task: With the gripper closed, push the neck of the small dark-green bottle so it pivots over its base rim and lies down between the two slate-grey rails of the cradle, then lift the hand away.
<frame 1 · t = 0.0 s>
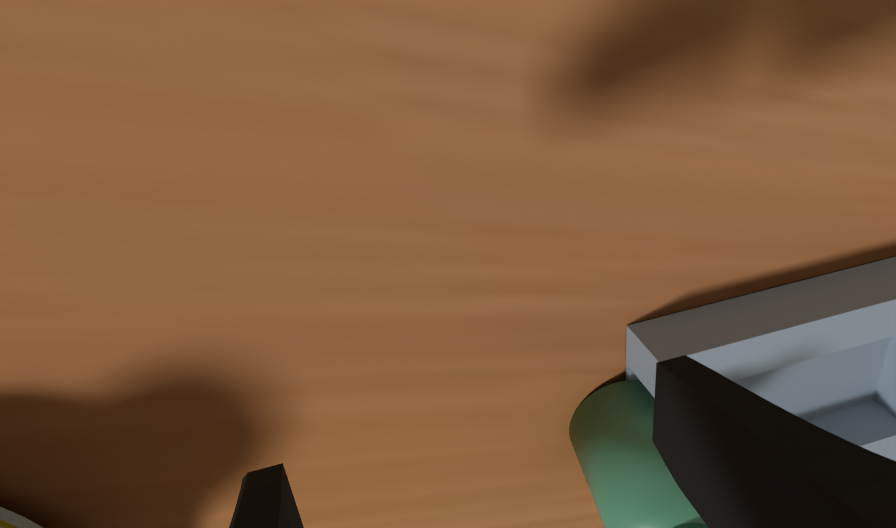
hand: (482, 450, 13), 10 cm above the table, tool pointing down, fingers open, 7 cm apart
cradle: (757, 380, 29), on the table
bottle: (622, 423, 28), on the table, tilted 8°, touching cradle
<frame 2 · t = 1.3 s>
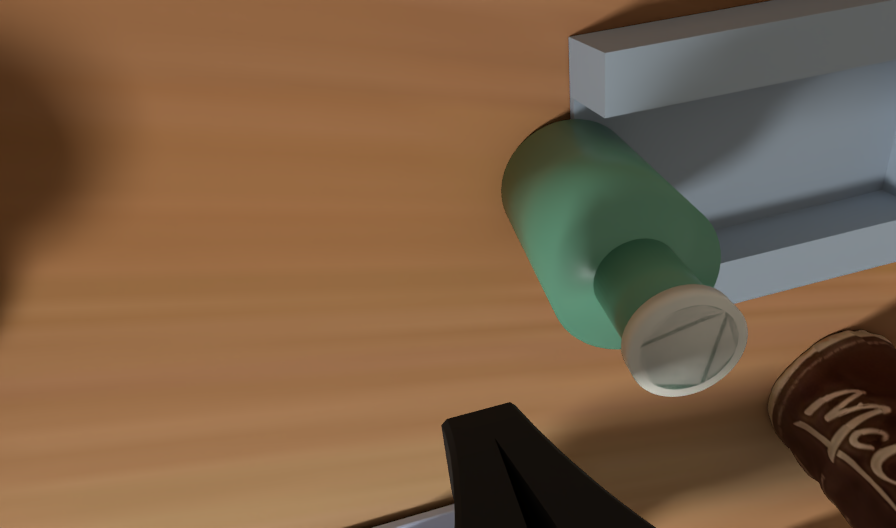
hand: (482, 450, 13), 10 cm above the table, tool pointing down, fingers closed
cradle: (739, 146, 24), on the table
bottle: (567, 184, 22), on the table, tilted 7°, touching cradle
coffee cup: (827, 384, 31), on the table
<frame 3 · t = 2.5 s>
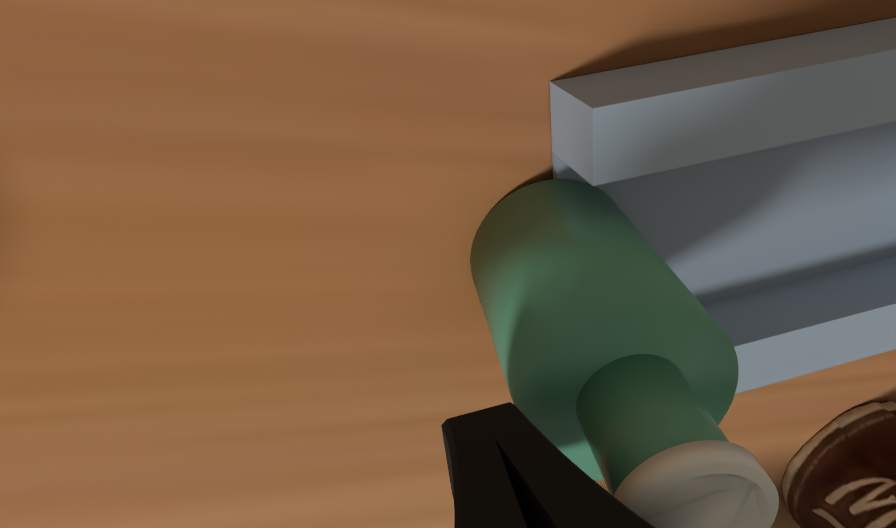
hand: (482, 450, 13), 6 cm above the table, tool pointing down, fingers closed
cradle: (754, 204, 20), on the table
bottle: (550, 254, 19), on the table, tilted 7°, touching cradle, gripper
coffee cup: (849, 459, 28), on the table
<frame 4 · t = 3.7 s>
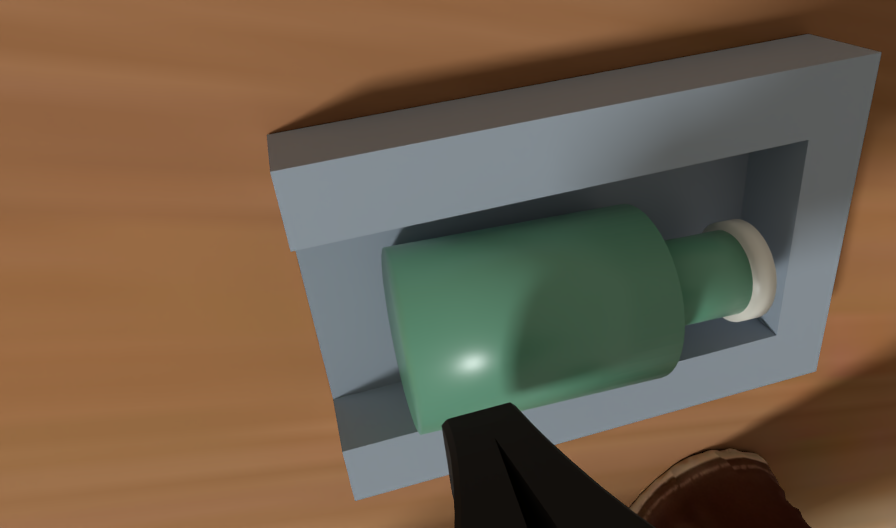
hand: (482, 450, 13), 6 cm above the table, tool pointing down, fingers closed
cradle: (534, 255, 19), on the table
bottle: (400, 340, 16), point 2 cm above the table, tilted 90°, touching cradle
coffee cup: (697, 506, 26), on the table
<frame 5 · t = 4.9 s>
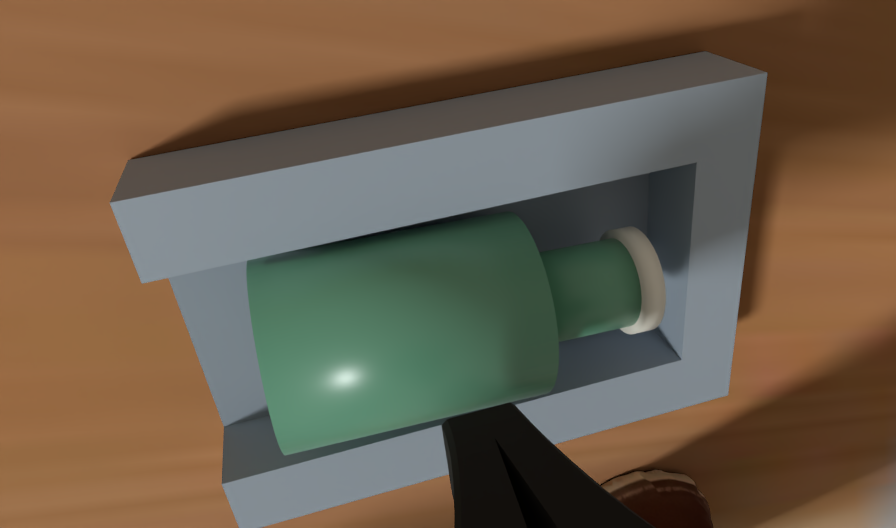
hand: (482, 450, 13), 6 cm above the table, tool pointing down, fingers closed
cradle: (429, 278, 18), on the table
bottle: (268, 355, 15), point 2 cm above the table, tilted 90°, touching cradle
coffee cup: (627, 527, 26), on the table
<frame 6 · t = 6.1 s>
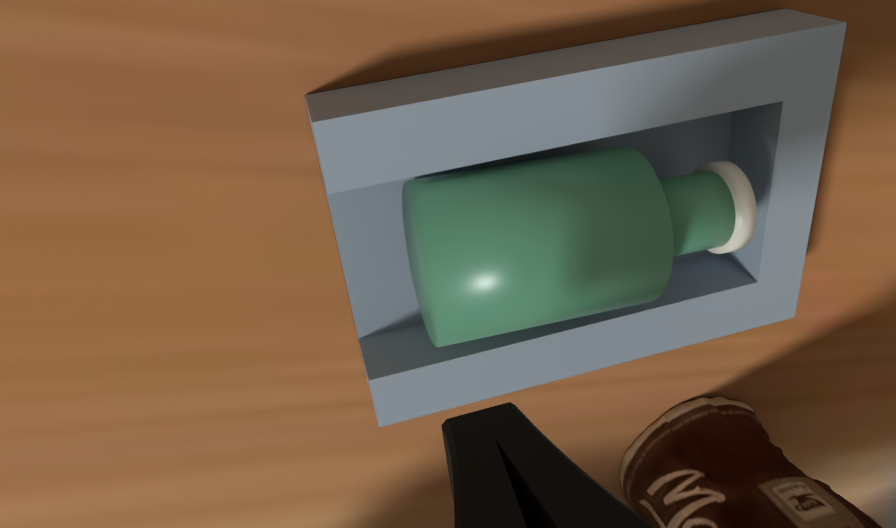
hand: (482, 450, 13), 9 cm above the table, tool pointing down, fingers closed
cradle: (539, 209, 21), on the table
bottle: (420, 264, 18), point 2 cm above the table, tilted 90°, touching cradle
coffee cup: (688, 452, 29), on the table
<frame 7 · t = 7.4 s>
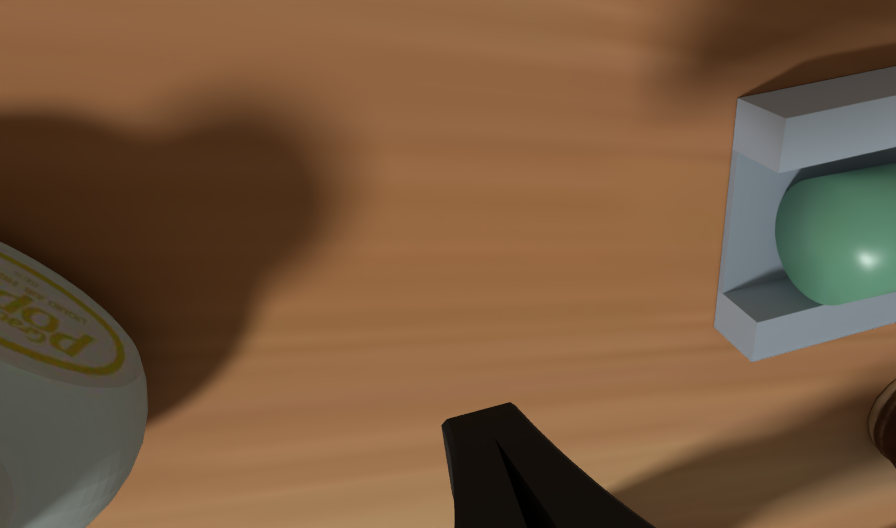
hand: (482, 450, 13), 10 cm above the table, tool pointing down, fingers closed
cradle: (869, 189, 26), on the table
bottle: (818, 242, 23), point 2 cm above the table, tilted 90°, touching cradle
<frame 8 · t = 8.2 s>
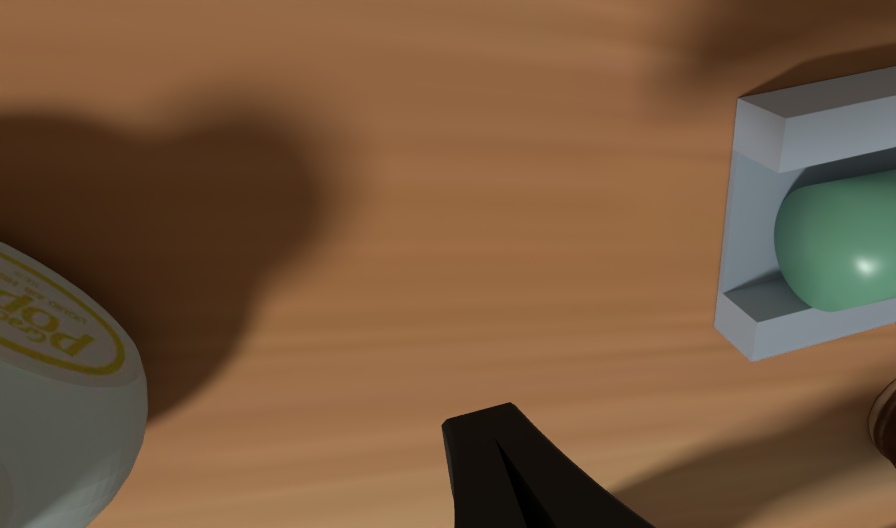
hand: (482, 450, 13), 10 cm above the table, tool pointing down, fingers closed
cradle: (869, 189, 26), on the table
bottle: (817, 249, 23), point 2 cm above the table, tilted 90°, touching cradle
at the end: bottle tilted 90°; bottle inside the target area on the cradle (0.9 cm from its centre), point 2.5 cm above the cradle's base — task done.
